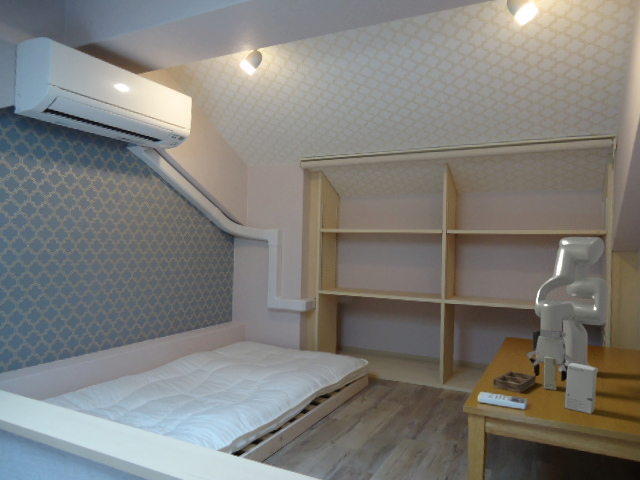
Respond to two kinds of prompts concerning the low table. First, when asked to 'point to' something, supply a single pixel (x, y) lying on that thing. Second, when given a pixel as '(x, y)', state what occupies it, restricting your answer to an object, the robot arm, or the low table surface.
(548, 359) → the skincare box
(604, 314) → the robot arm
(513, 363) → the low table surface
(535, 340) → the pen holder
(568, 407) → the skincare box
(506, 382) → the two-compartment wooden shelf
